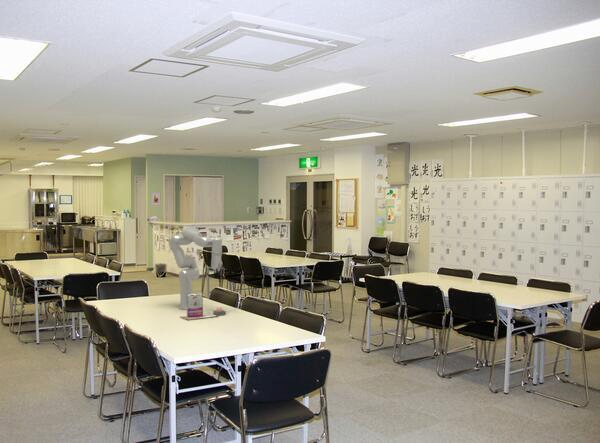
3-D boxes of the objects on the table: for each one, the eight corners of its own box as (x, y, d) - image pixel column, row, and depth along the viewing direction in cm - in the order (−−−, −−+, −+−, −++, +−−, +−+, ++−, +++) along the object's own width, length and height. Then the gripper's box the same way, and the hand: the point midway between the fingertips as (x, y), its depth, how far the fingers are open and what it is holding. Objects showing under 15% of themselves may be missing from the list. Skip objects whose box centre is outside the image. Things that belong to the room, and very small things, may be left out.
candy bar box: (201, 315, 413) (201, 293, 412) (203, 316, 408) (202, 294, 408) (186, 316, 408) (186, 294, 408) (187, 317, 404) (187, 295, 403)
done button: (216, 314, 419) (216, 307, 419) (220, 313, 422) (220, 306, 421) (218, 314, 416) (218, 308, 416) (223, 314, 418) (223, 307, 418)
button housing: (213, 314, 420) (213, 310, 420) (221, 313, 424) (221, 309, 424) (217, 316, 414) (217, 312, 414) (225, 315, 418) (225, 311, 418)
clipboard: (179, 317, 409) (179, 316, 409) (210, 313, 423) (209, 312, 423) (187, 320, 397) (187, 319, 397) (218, 317, 410) (218, 315, 410)
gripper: (208, 253, 429) (207, 276, 430) (216, 255, 417) (215, 279, 418) (217, 253, 433) (216, 276, 434) (225, 254, 421) (224, 279, 422)
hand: (216, 277), depth 426 cm, fingers closed
